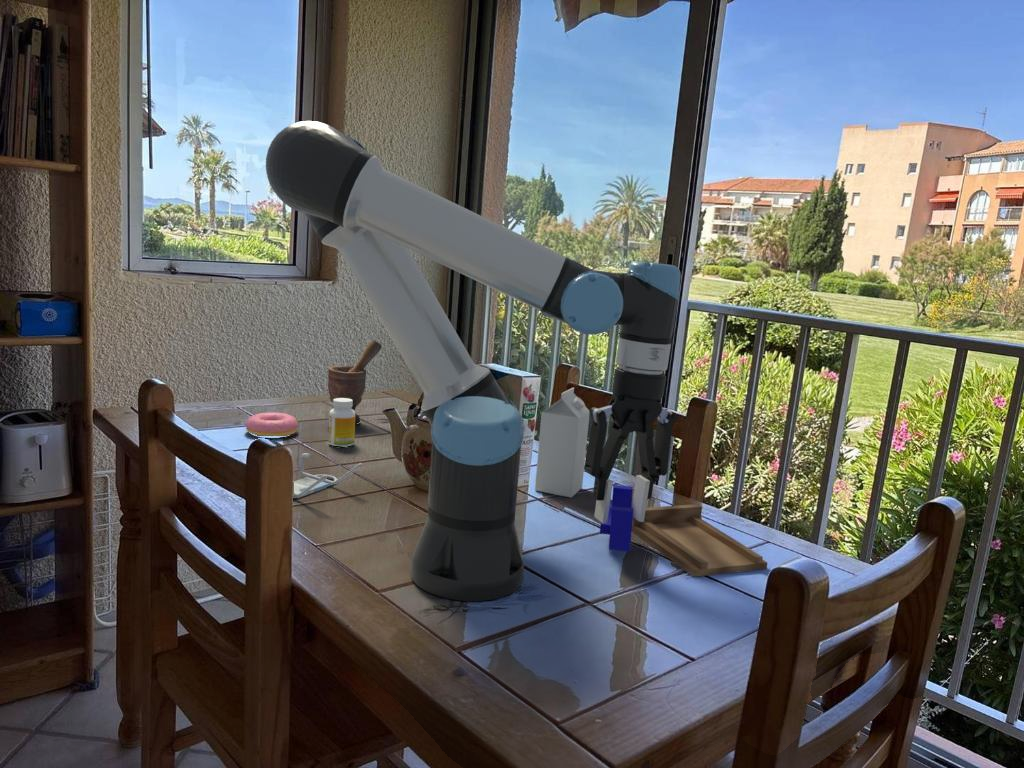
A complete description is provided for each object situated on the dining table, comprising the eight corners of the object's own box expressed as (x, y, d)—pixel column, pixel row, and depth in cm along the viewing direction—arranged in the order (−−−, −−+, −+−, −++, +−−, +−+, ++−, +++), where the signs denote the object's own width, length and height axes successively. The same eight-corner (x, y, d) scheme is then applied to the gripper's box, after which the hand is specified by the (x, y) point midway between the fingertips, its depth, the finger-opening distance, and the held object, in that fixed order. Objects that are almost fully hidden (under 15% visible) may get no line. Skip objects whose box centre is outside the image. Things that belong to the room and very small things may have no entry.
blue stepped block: (601, 520, 118) (603, 483, 117) (629, 523, 117) (632, 486, 116) (598, 548, 106) (601, 508, 105) (630, 551, 105) (633, 511, 104)
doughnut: (234, 433, 159) (234, 414, 158) (274, 425, 168) (275, 407, 167) (269, 443, 153) (269, 424, 153) (308, 434, 163) (309, 416, 162)
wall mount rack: (312, 474, 136) (313, 443, 135) (372, 490, 131) (373, 458, 130) (248, 496, 123) (248, 463, 122) (311, 515, 117) (312, 480, 116)
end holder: (693, 576, 105) (696, 553, 104) (629, 528, 121) (631, 508, 121) (766, 568, 110) (769, 546, 109) (695, 523, 126) (697, 504, 126)
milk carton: (534, 491, 136) (543, 390, 133) (547, 481, 143) (555, 384, 139) (571, 498, 134) (581, 396, 130) (582, 488, 140) (592, 390, 137)
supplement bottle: (359, 444, 157) (361, 400, 155) (341, 449, 153) (343, 403, 151) (341, 439, 160) (343, 395, 158) (322, 444, 155) (324, 399, 154)
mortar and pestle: (363, 416, 182) (367, 336, 178) (382, 424, 175) (386, 341, 171) (320, 421, 174) (322, 337, 170) (337, 429, 168) (340, 342, 164)
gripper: (596, 371, 101) (574, 531, 105) (709, 376, 108) (684, 526, 112) (572, 361, 108) (553, 511, 112) (680, 367, 115) (658, 508, 119)
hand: (619, 518), depth 112 cm, fingers closed on blue stepped block, 6 cm apart
